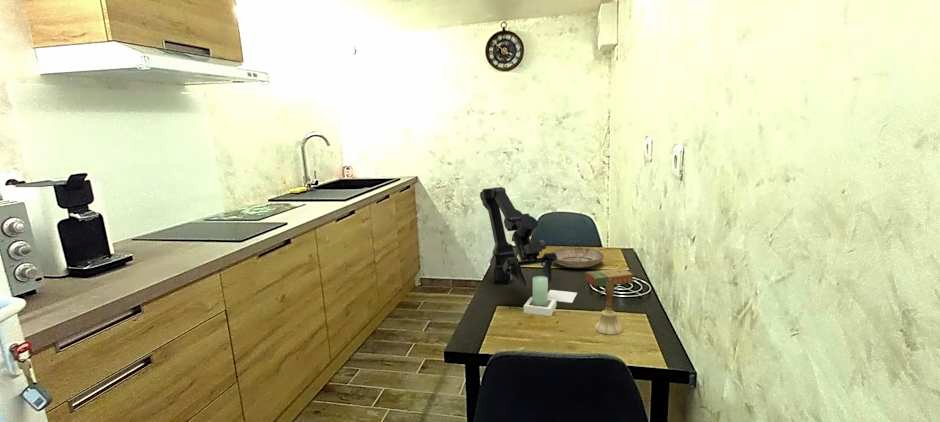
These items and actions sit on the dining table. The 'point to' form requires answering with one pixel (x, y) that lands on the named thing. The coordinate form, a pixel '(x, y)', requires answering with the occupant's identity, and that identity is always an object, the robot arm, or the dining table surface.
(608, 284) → the hand bell
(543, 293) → the light green piece
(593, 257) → the ceramic bowl
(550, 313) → the shallow square tray
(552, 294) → the cream panel
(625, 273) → the carton
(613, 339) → the dining table surface
